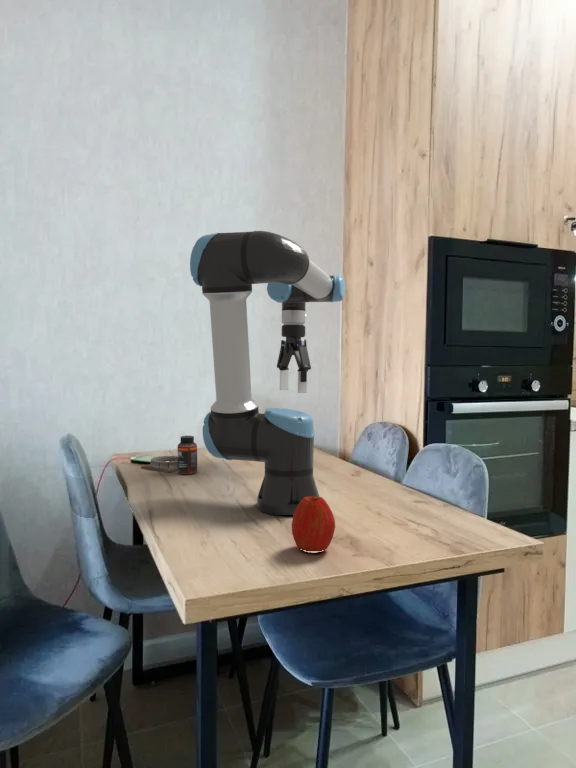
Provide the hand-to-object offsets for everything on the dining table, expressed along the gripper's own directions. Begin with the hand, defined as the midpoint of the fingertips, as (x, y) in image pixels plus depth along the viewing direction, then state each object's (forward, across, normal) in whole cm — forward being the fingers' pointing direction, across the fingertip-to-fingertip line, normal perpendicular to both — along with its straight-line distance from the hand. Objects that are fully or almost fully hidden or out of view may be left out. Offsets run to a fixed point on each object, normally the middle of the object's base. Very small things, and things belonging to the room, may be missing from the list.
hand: (292, 391), depth 173 cm
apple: (+25, -67, +27) cm, 77 cm away
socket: (+25, +16, +36) cm, 47 cm away
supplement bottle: (+25, +5, +33) cm, 41 cm away
